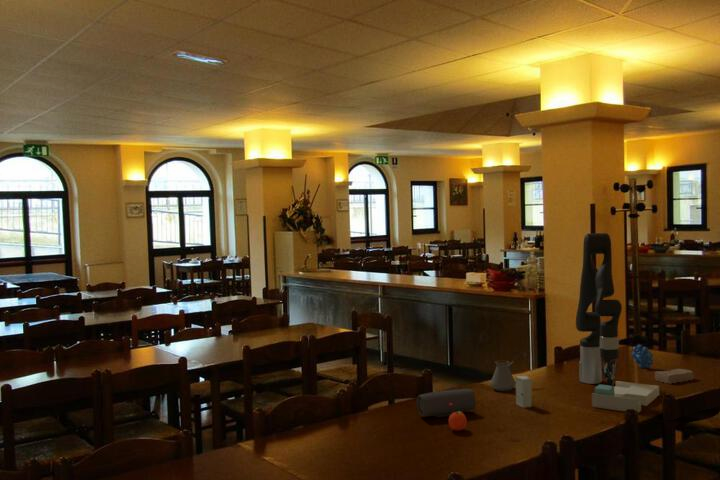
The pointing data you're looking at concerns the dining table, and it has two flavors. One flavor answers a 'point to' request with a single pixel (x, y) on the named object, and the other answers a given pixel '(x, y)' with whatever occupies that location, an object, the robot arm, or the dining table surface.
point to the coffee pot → (503, 375)
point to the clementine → (457, 421)
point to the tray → (626, 396)
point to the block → (604, 390)
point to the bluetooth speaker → (445, 402)
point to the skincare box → (523, 391)
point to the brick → (674, 376)
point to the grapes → (642, 356)
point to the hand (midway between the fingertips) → (610, 387)
